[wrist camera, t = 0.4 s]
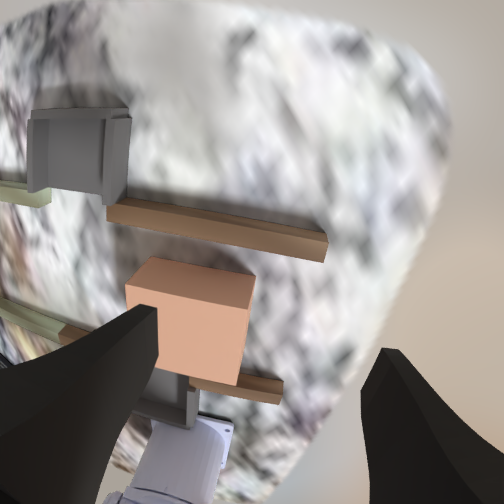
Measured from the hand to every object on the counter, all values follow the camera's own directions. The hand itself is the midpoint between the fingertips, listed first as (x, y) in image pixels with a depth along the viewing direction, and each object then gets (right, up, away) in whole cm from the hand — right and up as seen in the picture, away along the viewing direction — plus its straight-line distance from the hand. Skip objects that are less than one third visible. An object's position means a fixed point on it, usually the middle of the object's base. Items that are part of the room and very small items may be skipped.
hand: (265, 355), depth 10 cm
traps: (-10, +1, +12) cm, 16 cm away
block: (-4, 0, +12) cm, 13 cm away
